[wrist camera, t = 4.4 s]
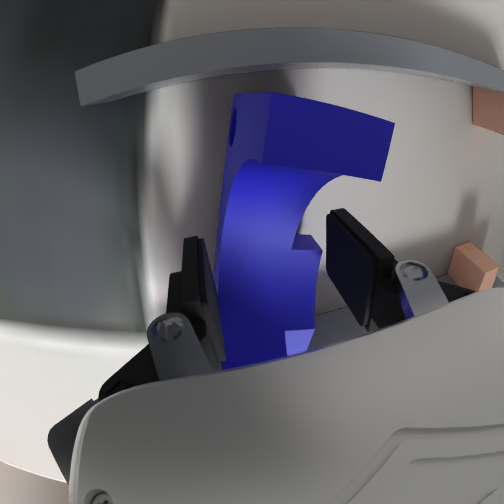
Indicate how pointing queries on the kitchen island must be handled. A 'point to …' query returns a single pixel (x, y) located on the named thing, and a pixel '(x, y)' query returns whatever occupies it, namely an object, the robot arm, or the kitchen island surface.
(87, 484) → the robot arm
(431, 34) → the kitchen island surface
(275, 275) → the cable clip
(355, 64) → the guide channel
